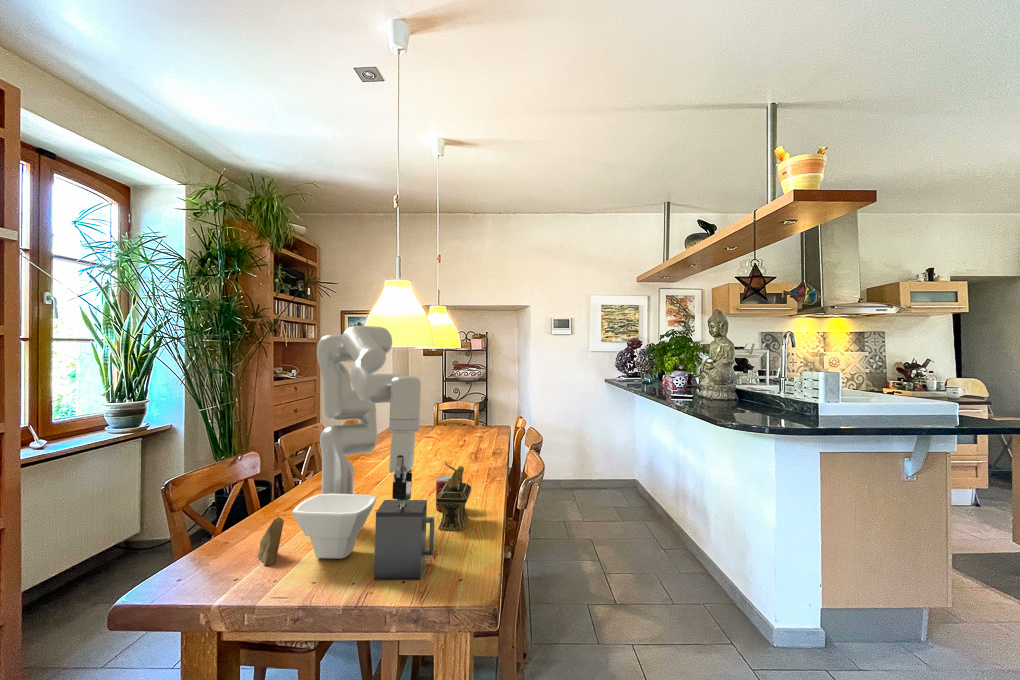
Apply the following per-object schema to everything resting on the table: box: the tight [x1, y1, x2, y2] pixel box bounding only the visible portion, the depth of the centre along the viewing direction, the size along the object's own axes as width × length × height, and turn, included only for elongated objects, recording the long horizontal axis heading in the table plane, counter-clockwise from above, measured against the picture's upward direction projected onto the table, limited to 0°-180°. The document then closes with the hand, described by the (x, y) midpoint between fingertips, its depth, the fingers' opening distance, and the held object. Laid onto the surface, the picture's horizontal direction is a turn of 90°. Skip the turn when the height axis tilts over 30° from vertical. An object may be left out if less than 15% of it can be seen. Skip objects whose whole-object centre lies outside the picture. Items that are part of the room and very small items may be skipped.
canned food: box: [435, 475, 452, 513], centre depth 181 cm, size 8×8×11 cm
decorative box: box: [435, 460, 472, 531], centre depth 165 cm, size 20×10×20 cm, turn 179°
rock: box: [257, 516, 285, 566], centre depth 135 cm, size 11×9×10 cm
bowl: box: [291, 493, 377, 559], centre depth 138 cm, size 19×19×14 cm
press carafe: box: [373, 499, 435, 581], centre depth 129 cm, size 14×11×16 cm
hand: (402, 493), depth 130 cm, fingers open, 9 cm apart
